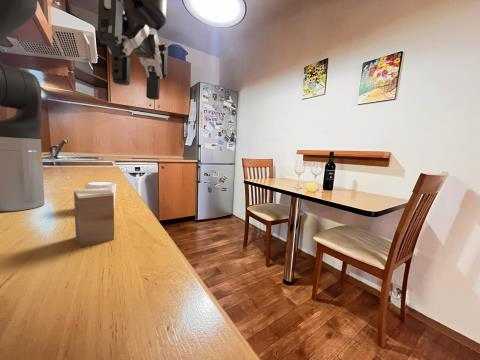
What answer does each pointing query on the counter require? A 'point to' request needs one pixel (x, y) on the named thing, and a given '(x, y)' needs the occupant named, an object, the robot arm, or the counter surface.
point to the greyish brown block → (94, 216)
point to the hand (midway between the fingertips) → (138, 92)
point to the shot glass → (102, 186)
